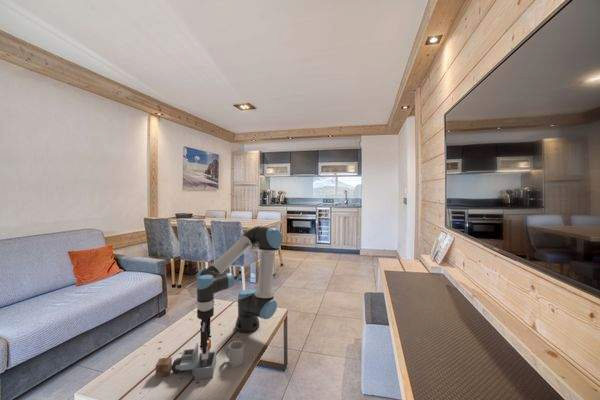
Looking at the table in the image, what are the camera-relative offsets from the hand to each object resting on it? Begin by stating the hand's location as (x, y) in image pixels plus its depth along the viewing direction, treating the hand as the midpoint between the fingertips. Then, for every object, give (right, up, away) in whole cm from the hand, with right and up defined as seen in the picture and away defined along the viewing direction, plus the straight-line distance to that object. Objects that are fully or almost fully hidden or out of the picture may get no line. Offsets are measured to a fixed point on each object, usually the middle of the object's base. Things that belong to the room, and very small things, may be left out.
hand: (205, 355), depth 126 cm
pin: (0, -4, 0) cm, 4 cm away
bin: (0, -7, 0) cm, 7 cm away
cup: (+12, -7, +7) cm, 16 cm away
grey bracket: (-10, -7, -1) cm, 13 cm away
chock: (-19, -7, -2) cm, 21 cm away
